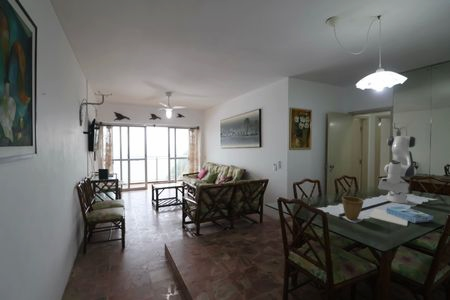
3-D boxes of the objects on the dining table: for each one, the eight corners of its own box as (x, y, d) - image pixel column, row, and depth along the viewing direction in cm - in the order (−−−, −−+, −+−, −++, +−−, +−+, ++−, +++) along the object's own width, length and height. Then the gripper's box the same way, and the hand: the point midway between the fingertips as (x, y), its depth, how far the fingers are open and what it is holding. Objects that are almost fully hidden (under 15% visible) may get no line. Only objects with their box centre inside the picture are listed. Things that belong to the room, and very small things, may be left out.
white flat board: (374, 209, 197) (375, 208, 197) (408, 216, 181) (409, 215, 181) (369, 217, 177) (369, 216, 177) (406, 226, 160) (406, 225, 160)
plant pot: (342, 213, 184) (344, 195, 182) (363, 218, 174) (364, 199, 173) (339, 218, 172) (340, 199, 171) (360, 223, 163) (362, 203, 161)
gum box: (385, 212, 187) (415, 223, 165) (386, 206, 186) (415, 217, 164) (402, 211, 192) (432, 222, 170) (403, 205, 191) (433, 215, 169)
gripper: (409, 181, 177) (408, 198, 179) (379, 177, 191) (378, 192, 193) (409, 183, 173) (407, 199, 174) (378, 178, 187) (377, 194, 188)
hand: (392, 196), depth 183 cm, fingers closed
